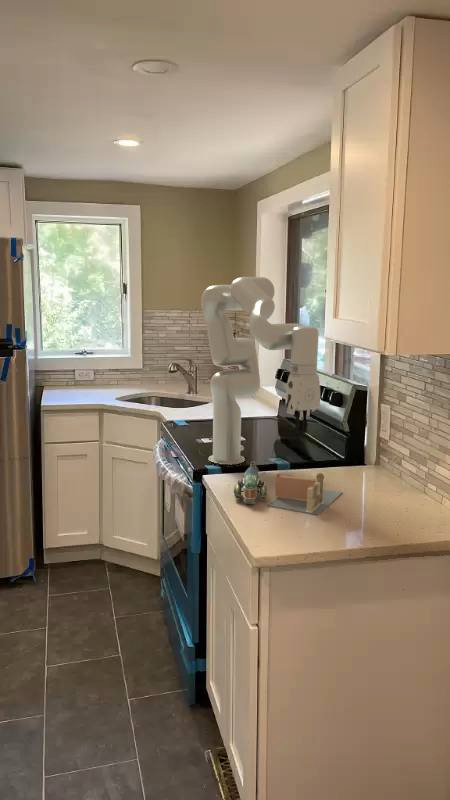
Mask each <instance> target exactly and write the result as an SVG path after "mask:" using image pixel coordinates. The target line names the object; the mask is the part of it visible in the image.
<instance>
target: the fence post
mask: <svg viewBox="0 0 450 800" xmlns="http://www.w3.org/2000/svg"><path fill="white" fill-rule="evenodd" d="M315 477H316V481H315V483H314V484H313V485H311V486H310V487H309V488H308V489H307V510H310V511H311V510H312V509H313V508H314V507H315V506H316V505H318V504H319V503H322V499H323V489H324V479H325V475H324V474H323V473H321V472H320V473H317V474H316V475H315Z"/></svg>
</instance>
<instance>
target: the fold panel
mask: <svg viewBox="0 0 450 800" xmlns="http://www.w3.org/2000/svg"><path fill="white" fill-rule="evenodd" d="M315 482H316V481H315V479H314V478H305V477H299V476H298V477H297V476H289V475H288V476H286V475H281V473H280V472H277V473H276V475H275V483H274V484H275V486H274V487H275V490H274V491H275V492H274V494H275V495H274V497H276V498H277V497H284V498H292V499H301V500H307V489H308V488H309V487H310V486H311V485H313V484H314V483H315Z"/></svg>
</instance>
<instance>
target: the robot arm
mask: <svg viewBox="0 0 450 800" xmlns="http://www.w3.org/2000/svg"><path fill="white" fill-rule="evenodd" d="M274 297H275V286H274V284H273V281H271V280H270V279H269V278H268V277H264V276H241V277H237V278H236V279H234V280H233V281H232V282H231V284H216V285H211V286H208V287H207V288H206V289H205V290H203V293H202V295H201V301H200V307H201V308H200V309H201V313H202V316H203V319H204V322H205V325H206V328H207V337H208V345H209V351H210V357H211V360H212V363H213V364H214V365H215V366H217V367H224V368H225V367H226V368H227V367H238V369H228V370H226V369H225V370H221V371H219V372H216V373H215V374H213V375H212V377H211V378H210V382H209V384H210V386H209V387H210V391H211V397H212V419H213V420H212V455H210V456H209V457H208V460H209V461H211V462H214V463H219V464H228V465H229V464H230V465H232V464H239V463H242V462H244V461H246V459H245V457H244V456H243V455H241V452H242V451H244V449H245V447H244V446H243V445H241V443H242V442H241V440H242V438H241V437H242V436H241V434H242V433H241V432H242V431H241V430H242V411H241V407H240V405H239V403H238V402H237V400H236V399H240V398H247V397H253V396H255V395H257V394H258V392H259V391H260V388H261V377H260V370H259V362H258V353H257V350H256V346H255V345H254V343H253V342H252V340H250V339H249V338H247V337H235V335H234V330H233V324H232V322H231V320H230V319H229V317H228V316H227V314H225V313H224V311H226V312H227V311H228V312H229V311H233V312H234V311H244V312H245V313H246V314H247V315H248V317H249V320H248V321H249V323H248V324H249V329H250V330H249V331H250V333H251V335H252V337H253V338H254V339H255V340H256V341H257V342H258V343H259V345H261V346H262V347H263V348H264V349H265V350H268V351H281V350H290V367H288V371H289V374H288V378H287V382H286V389H285V407H286V408H287V409H286V413H287V414H288V415H291V416H293V419H295V426H294V431H295V432H296V433H299V434H307V432H308V420H309V418H310V415H311V414H312V413H313V412H315V411H316V410H317V409H318V408H319V407H320V405H321V383H320V382H321V381H320V376H319V374H318V373H317V372H318V356H319V355H318V353H319V352H318V351H319V350H318V349H319V330H318V328H317V327H315V326H311V325H310V326H309V325H307V326H306V325H302V324H300V323H297V322H296V323H295V322H294V323H270V322H269V321H268V320H269V319H270V318H271V316H272V315H273V314H274V311H275V308H276V304H275V302H274V300H273V299H274ZM209 461H208V462H209ZM244 463H245V462H244Z"/></svg>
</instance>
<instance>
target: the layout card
mask: <svg viewBox="0 0 450 800" xmlns="http://www.w3.org/2000/svg"><path fill="white" fill-rule="evenodd" d="M342 494H343V491H337V490H332V489H326V488H323V499H322V503H319V504H318V505H316V506H315V507H314V508H313V509H312V510H311V511H310V510H307V500H301V499H292V498H284V497H276V498H274V499H273V500H272V501H270V502H269V503H268V504H267V505H266V506H267V507H271V508H275V509H276V508H277V509H283V510H287V511H292V512H297V513H302V514H303V513H304V514H308V515H315V516H320V515H321V514H322V513H323V512H324V511H325V510H326V509H327V508H329V506H330V505H331V504H333V502H334V501H335V500H337V498H339V496H341V495H342Z"/></svg>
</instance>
